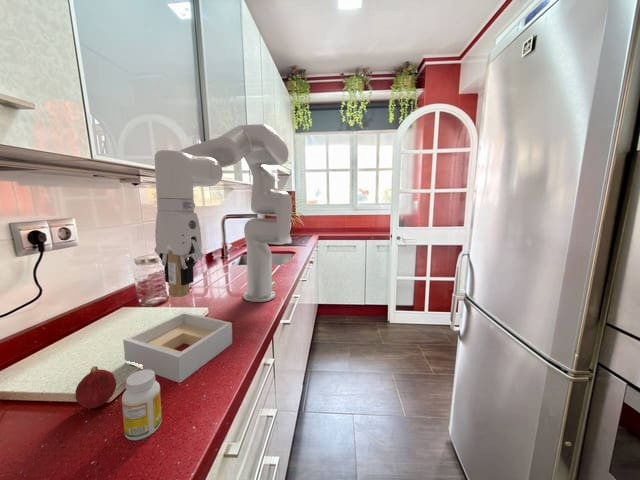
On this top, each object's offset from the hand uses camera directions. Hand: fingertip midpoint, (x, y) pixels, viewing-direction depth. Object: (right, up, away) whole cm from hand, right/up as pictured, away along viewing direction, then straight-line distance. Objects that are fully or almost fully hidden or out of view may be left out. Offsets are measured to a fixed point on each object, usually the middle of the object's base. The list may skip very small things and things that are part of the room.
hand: (179, 281), depth 64 cm
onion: (-7, -21, -15) cm, 27 cm away
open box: (-1, -19, +3) cm, 19 cm away
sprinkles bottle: (0, -3, 0) cm, 4 cm away
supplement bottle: (+4, -22, -19) cm, 30 cm away
